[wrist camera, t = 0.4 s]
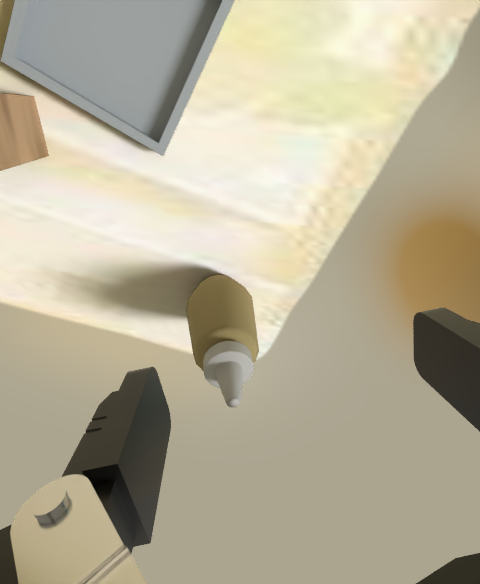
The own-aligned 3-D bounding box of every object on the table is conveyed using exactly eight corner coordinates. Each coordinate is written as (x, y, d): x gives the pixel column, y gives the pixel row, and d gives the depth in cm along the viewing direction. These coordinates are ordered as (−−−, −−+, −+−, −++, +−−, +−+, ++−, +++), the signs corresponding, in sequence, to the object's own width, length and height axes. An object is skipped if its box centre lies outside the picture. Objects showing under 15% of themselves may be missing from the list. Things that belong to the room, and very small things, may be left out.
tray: (15, 64, 28) (0, 61, 26) (66, -138, 23) (53, -164, 21) (164, 153, 33) (162, 156, 31) (234, 2, 28) (237, -8, 26)
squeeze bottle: (247, 318, 44) (277, 431, 29) (187, 321, 43) (185, 438, 28) (250, 265, 40) (287, 361, 25) (185, 266, 39) (180, 367, 24)
